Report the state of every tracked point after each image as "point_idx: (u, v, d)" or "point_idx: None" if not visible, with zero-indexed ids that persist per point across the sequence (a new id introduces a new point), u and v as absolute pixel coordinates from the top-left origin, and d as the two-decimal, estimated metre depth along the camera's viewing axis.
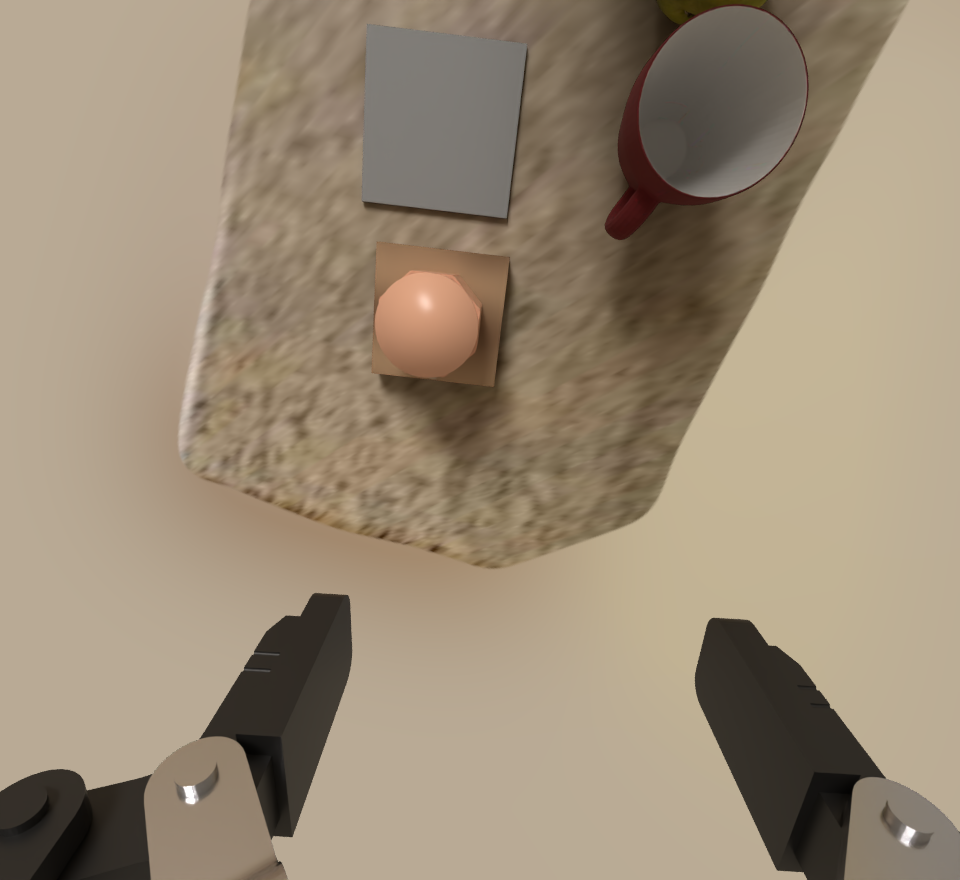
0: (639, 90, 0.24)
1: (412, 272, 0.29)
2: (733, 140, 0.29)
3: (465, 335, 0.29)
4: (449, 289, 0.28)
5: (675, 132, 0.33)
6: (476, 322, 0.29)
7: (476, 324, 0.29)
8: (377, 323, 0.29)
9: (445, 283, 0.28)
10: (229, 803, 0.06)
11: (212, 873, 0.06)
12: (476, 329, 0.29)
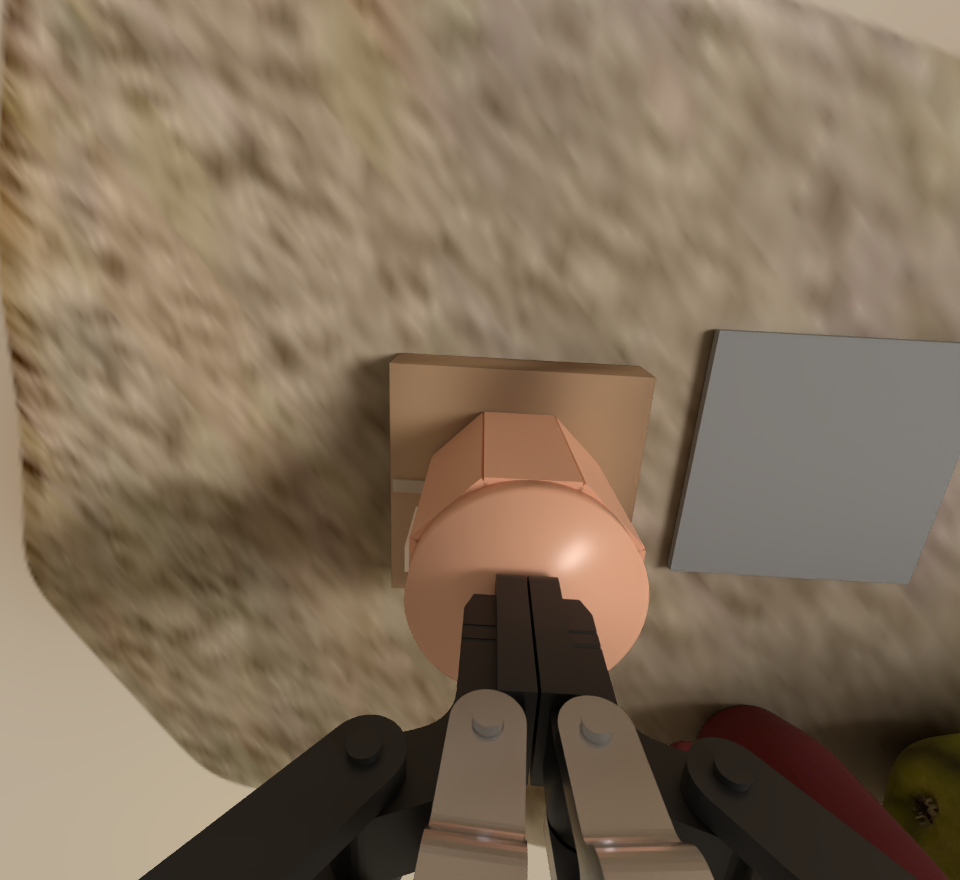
0: None
1: (641, 552, 0.13)
2: None
3: None
4: (610, 646, 0.13)
5: None
6: None
7: None
8: (530, 499, 0.11)
9: (623, 639, 0.13)
10: (503, 759, 0.07)
11: (476, 808, 0.07)
12: None
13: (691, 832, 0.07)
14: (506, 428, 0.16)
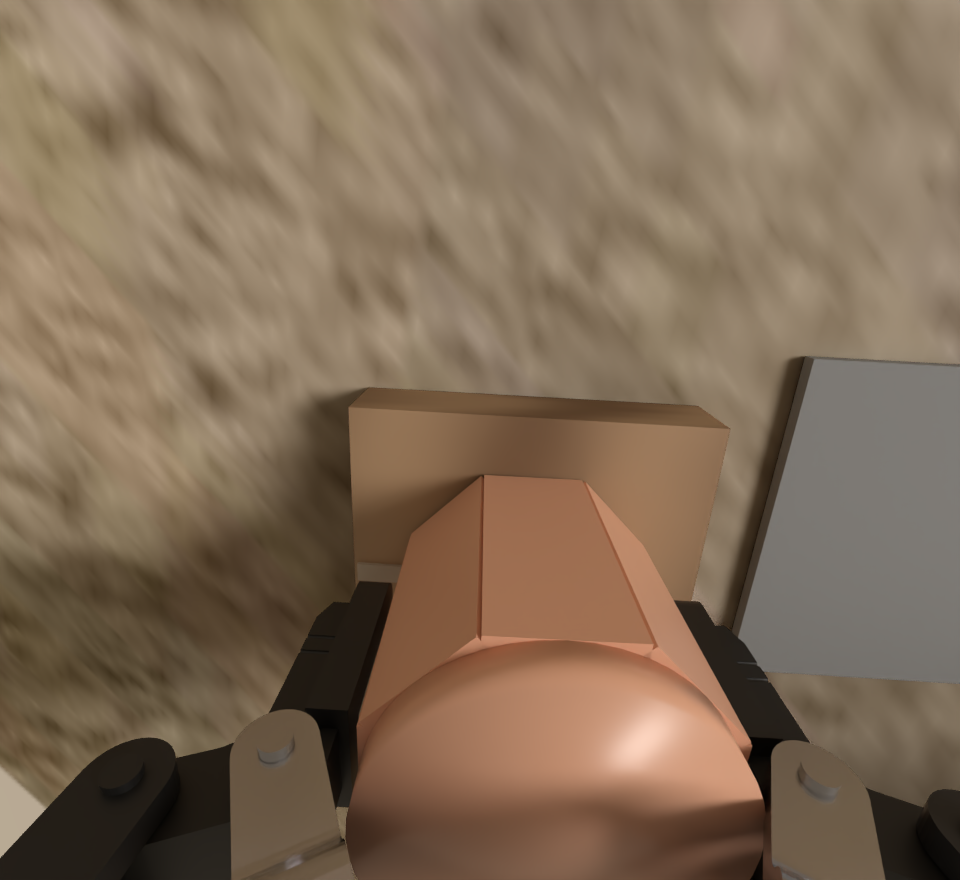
0: None
1: (743, 748, 0.08)
2: None
3: None
4: None
5: None
6: None
7: None
8: (565, 693, 0.06)
9: None
10: (302, 774, 0.07)
11: (283, 837, 0.06)
12: None
13: None
14: (516, 508, 0.11)
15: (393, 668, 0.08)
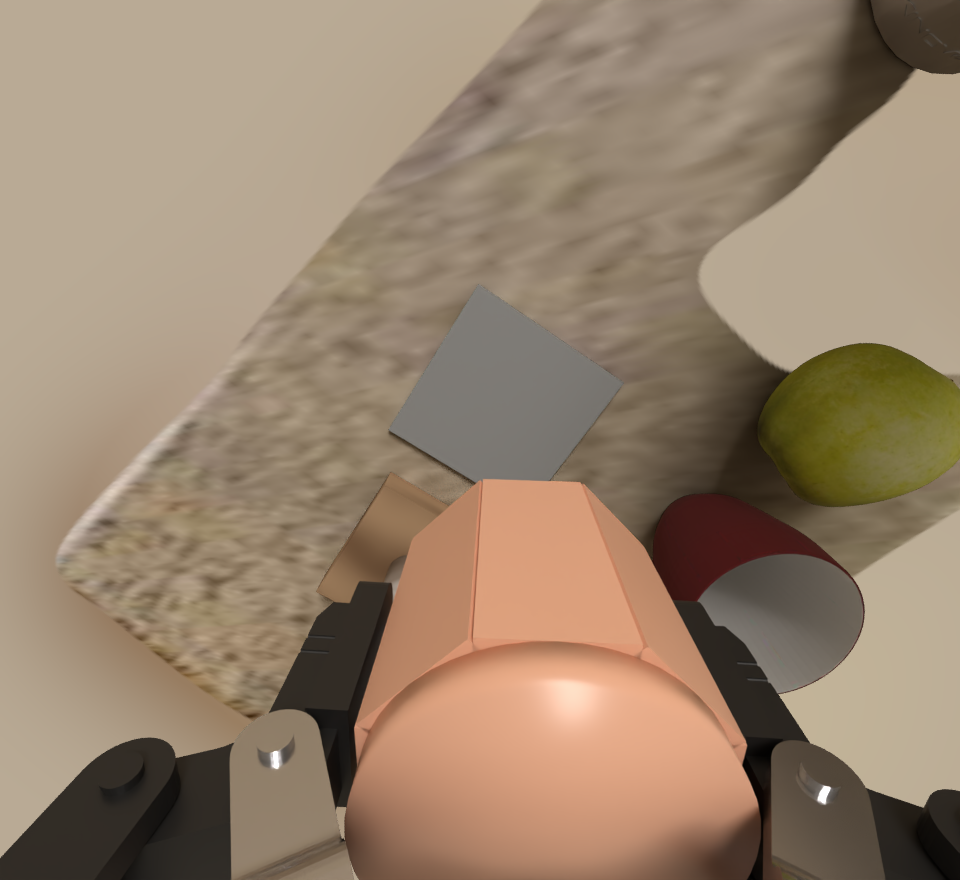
0: (709, 579, 0.22)
1: (738, 748, 0.08)
2: (762, 582, 0.29)
3: None
4: None
5: None
6: None
7: None
8: (553, 693, 0.06)
9: None
10: (302, 774, 0.07)
11: (283, 838, 0.06)
12: None
13: None
14: (513, 511, 0.11)
15: (390, 671, 0.08)
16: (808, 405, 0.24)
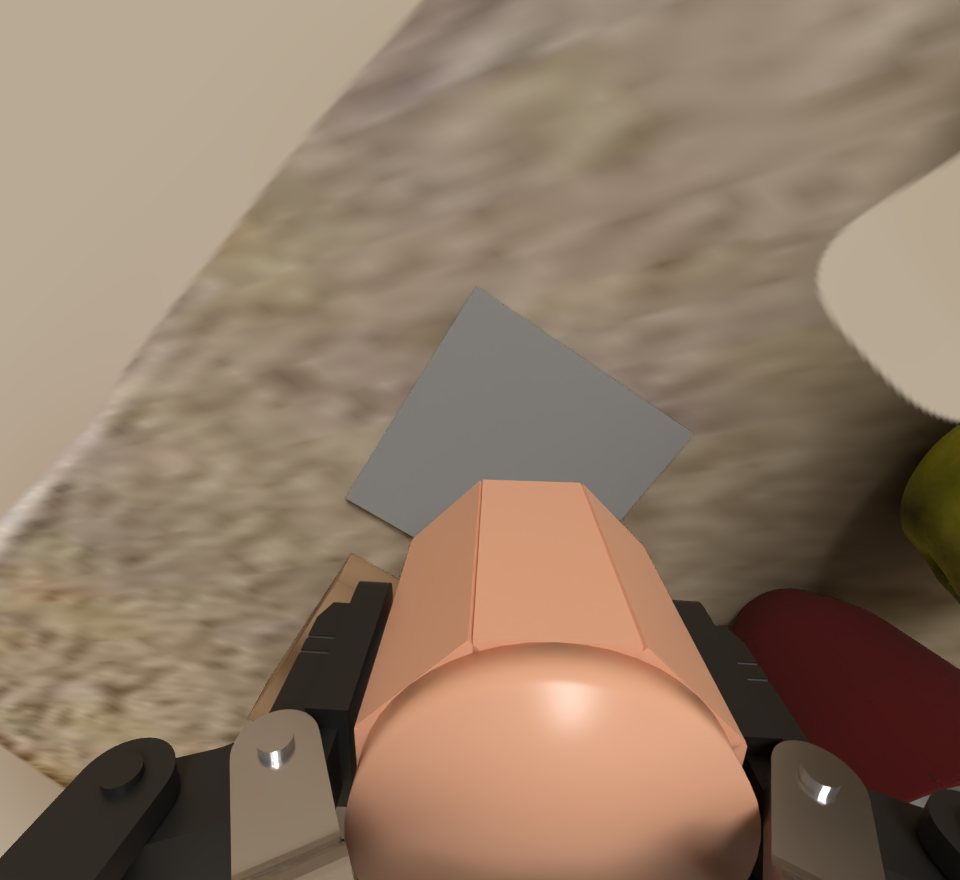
0: None
1: (739, 749, 0.08)
2: None
3: None
4: None
5: None
6: None
7: None
8: (553, 694, 0.06)
9: None
10: (302, 774, 0.07)
11: (282, 838, 0.06)
12: None
13: None
14: (513, 512, 0.11)
15: (390, 672, 0.08)
16: None
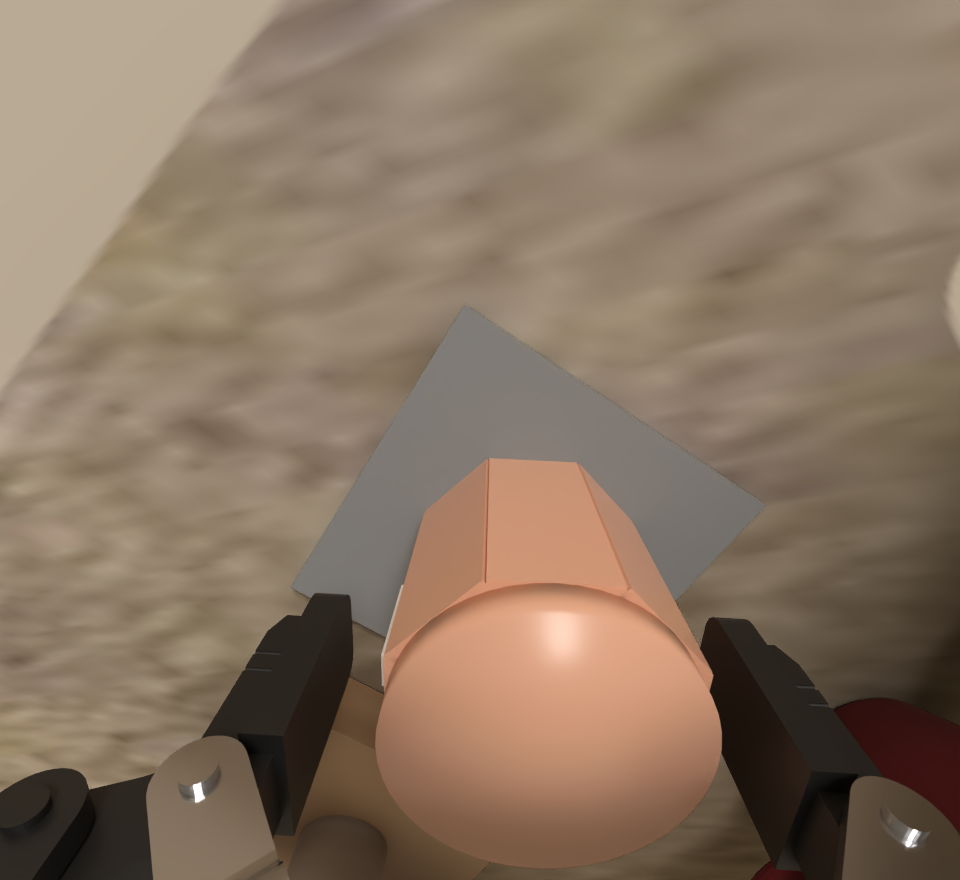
0: None
1: (706, 678, 0.09)
2: None
3: (523, 843, 0.10)
4: (663, 808, 0.09)
5: None
6: (563, 866, 0.10)
7: (557, 866, 0.10)
8: (553, 620, 0.08)
9: (682, 800, 0.09)
10: (231, 802, 0.06)
11: (214, 872, 0.06)
12: (543, 866, 0.10)
13: None
14: (517, 484, 0.12)
15: (413, 613, 0.10)
16: None
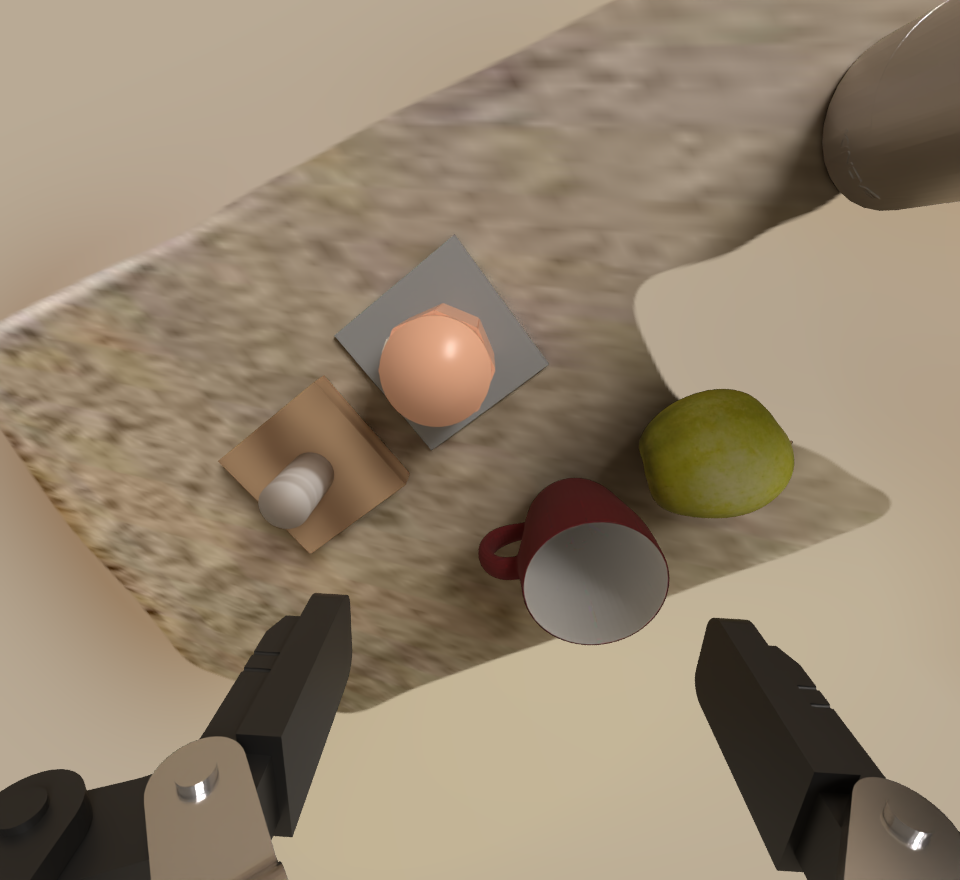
0: (558, 529, 0.27)
1: (492, 371, 0.28)
2: (605, 565, 0.34)
3: (416, 410, 0.28)
4: (466, 407, 0.27)
5: None
6: (427, 424, 0.28)
7: (425, 424, 0.28)
8: (451, 322, 0.26)
9: (472, 405, 0.27)
10: (229, 803, 0.06)
11: (212, 873, 0.06)
12: (420, 423, 0.28)
13: None
14: (452, 309, 0.30)
15: (404, 322, 0.28)
16: (680, 422, 0.29)
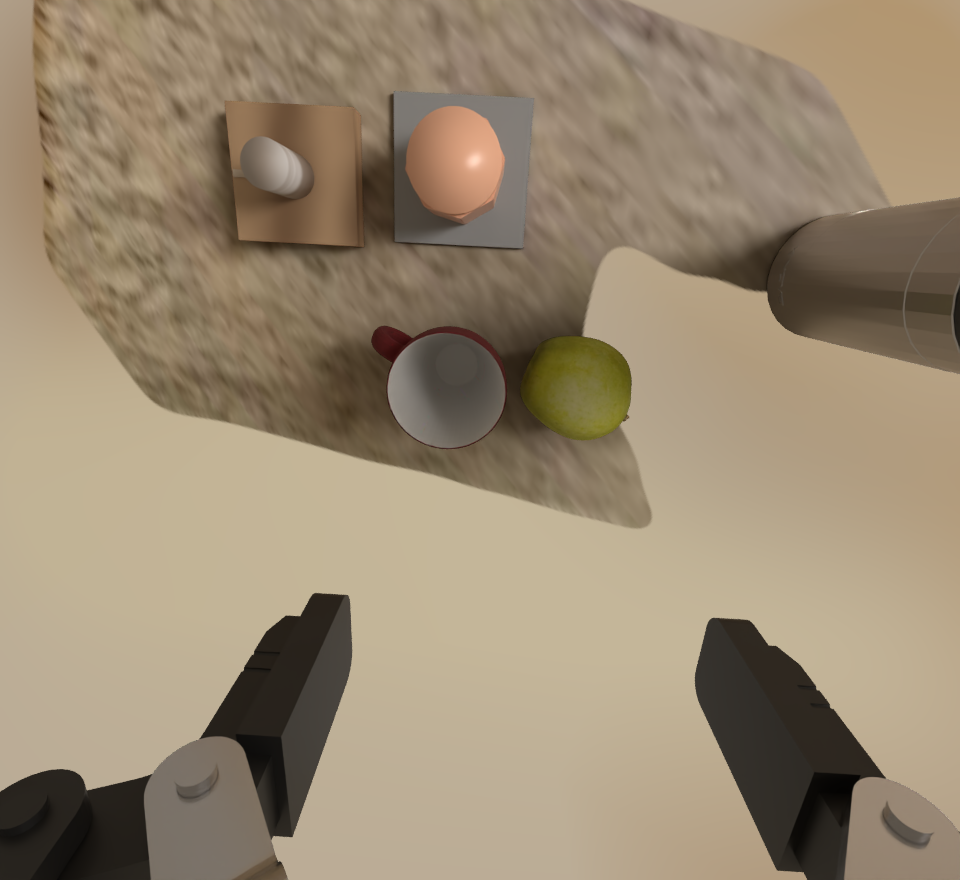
0: (453, 331, 0.32)
1: (491, 198, 0.33)
2: (453, 413, 0.40)
3: (420, 177, 0.32)
4: (454, 205, 0.32)
5: (469, 375, 0.43)
6: (418, 194, 0.32)
7: (417, 192, 0.32)
8: (493, 135, 0.31)
9: (460, 208, 0.32)
10: (229, 803, 0.06)
11: (212, 873, 0.06)
12: (415, 188, 0.32)
13: None
14: None
15: None
16: (576, 342, 0.36)
